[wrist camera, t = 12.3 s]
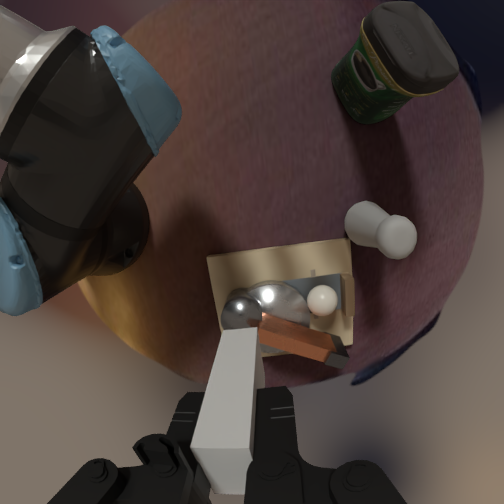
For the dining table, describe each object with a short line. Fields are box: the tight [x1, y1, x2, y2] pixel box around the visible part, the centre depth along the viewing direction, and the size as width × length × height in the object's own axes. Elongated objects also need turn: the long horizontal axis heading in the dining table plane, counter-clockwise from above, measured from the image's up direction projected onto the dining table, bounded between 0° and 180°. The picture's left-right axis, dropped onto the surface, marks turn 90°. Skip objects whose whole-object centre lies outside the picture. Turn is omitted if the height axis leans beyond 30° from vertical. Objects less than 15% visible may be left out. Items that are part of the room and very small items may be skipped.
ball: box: [307, 285, 338, 316], centre depth 36 cm, size 4×4×4 cm
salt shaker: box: [345, 201, 417, 260], centre depth 30 cm, size 6×6×13 cm
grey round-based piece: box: [220, 280, 349, 369], centre depth 35 cm, size 10×16×7 cm, turn 69°
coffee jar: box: [331, 1, 459, 124], centre depth 24 cm, size 10×8×19 cm
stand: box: [207, 238, 355, 357], centre depth 38 cm, size 19×16×4 cm
